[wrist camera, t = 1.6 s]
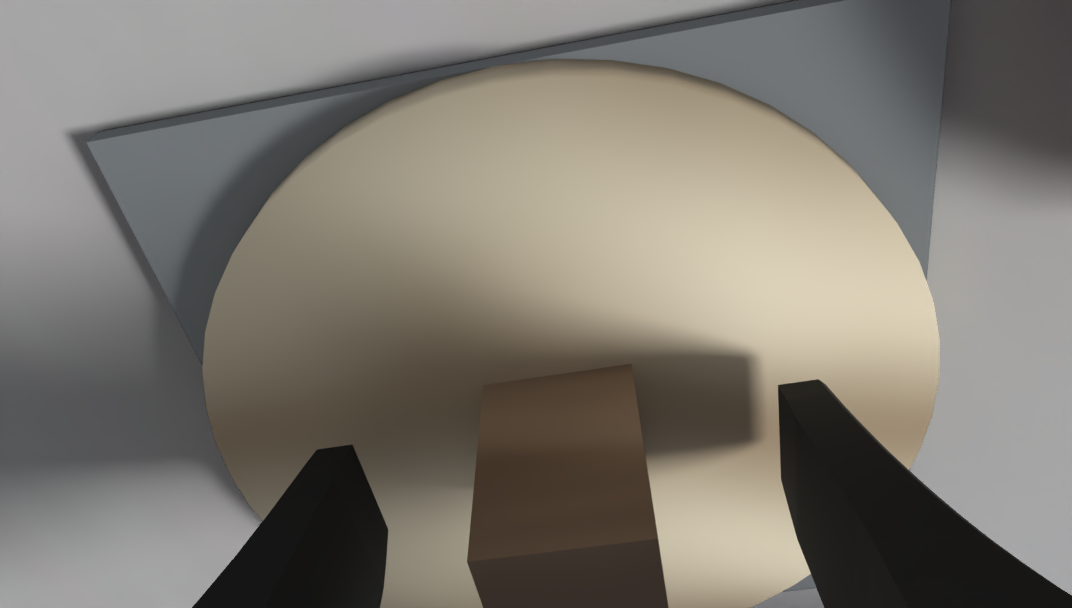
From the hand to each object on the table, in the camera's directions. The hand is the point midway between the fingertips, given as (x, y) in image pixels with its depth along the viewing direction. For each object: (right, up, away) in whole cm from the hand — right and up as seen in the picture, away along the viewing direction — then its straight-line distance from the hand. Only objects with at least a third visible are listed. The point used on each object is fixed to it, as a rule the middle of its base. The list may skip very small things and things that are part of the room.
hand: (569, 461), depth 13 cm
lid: (0, +1, +1) cm, 2 cm away
